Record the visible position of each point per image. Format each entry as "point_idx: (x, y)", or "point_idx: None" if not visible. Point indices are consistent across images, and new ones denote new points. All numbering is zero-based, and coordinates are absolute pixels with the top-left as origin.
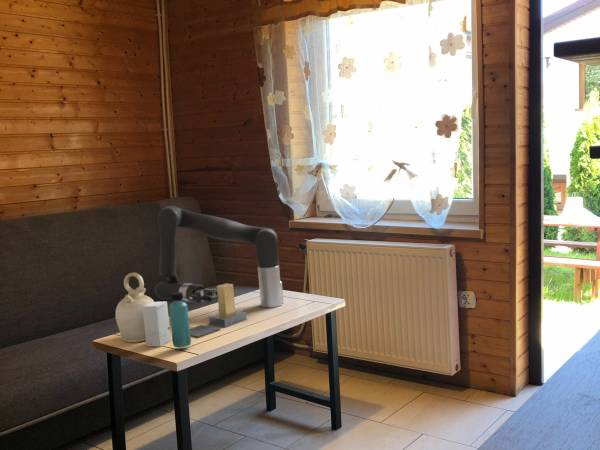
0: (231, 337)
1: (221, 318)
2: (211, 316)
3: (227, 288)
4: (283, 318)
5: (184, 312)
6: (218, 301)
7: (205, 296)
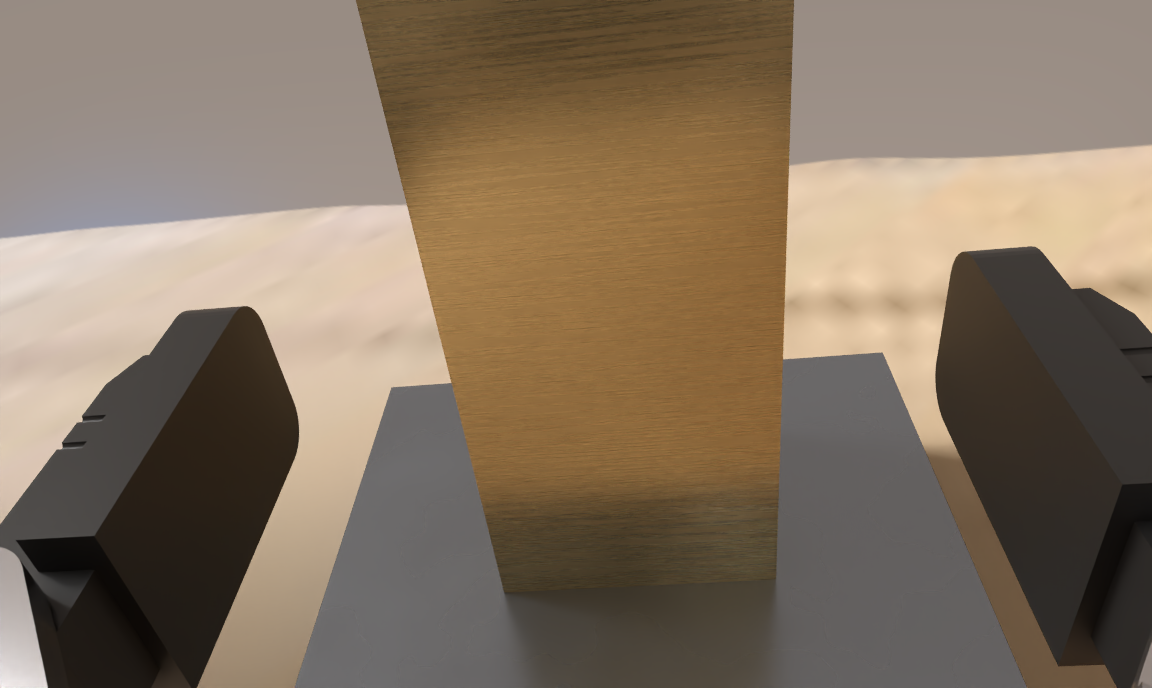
0: (1024, 208)
1: (871, 426)
2: (943, 679)
3: None
4: (277, 263)
5: None
6: (781, 310)
7: (1143, 429)
